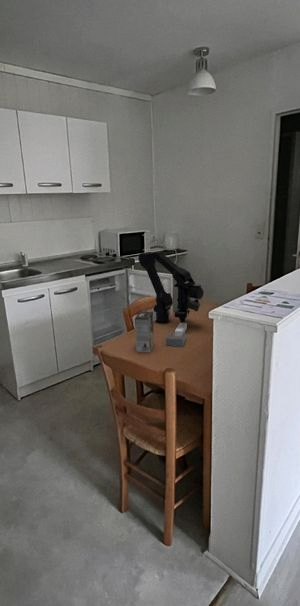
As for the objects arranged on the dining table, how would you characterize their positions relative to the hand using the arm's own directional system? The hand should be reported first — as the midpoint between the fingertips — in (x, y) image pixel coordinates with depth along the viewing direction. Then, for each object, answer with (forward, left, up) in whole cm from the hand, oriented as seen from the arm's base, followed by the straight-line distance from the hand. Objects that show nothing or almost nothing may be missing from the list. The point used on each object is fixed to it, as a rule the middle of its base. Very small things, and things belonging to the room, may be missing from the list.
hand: (183, 324), depth 185 cm
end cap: (0, -20, -1) cm, 20 cm away
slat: (0, -7, -1) cm, 7 cm away
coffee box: (-13, -29, -1) cm, 32 cm away
